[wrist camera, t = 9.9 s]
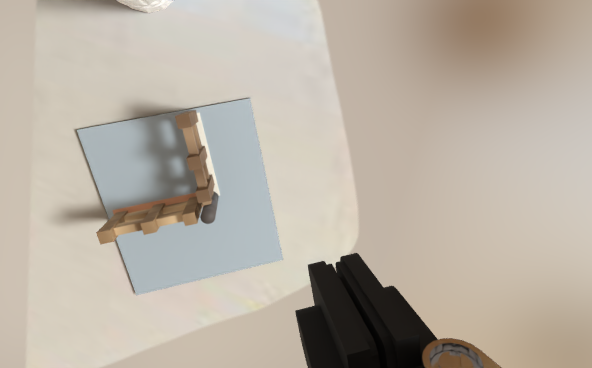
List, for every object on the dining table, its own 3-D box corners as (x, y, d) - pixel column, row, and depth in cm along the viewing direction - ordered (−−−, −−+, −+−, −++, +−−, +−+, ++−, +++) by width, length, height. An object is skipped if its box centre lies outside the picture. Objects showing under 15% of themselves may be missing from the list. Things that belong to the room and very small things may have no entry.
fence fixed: (184, 112, 36) (172, 116, 29) (197, 109, 36) (188, 113, 30) (208, 202, 39) (202, 225, 32) (220, 200, 39) (216, 222, 33)
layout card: (78, 129, 35) (76, 129, 34) (249, 98, 37) (250, 98, 36) (137, 293, 41) (136, 295, 40) (282, 258, 43) (283, 260, 42)
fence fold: (201, 195, 38) (195, 212, 33) (203, 205, 38) (198, 223, 33) (116, 212, 37) (96, 232, 31) (119, 222, 37) (100, 244, 32)
